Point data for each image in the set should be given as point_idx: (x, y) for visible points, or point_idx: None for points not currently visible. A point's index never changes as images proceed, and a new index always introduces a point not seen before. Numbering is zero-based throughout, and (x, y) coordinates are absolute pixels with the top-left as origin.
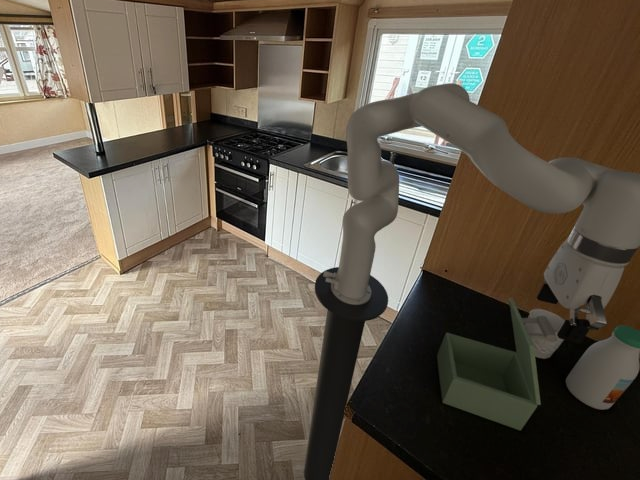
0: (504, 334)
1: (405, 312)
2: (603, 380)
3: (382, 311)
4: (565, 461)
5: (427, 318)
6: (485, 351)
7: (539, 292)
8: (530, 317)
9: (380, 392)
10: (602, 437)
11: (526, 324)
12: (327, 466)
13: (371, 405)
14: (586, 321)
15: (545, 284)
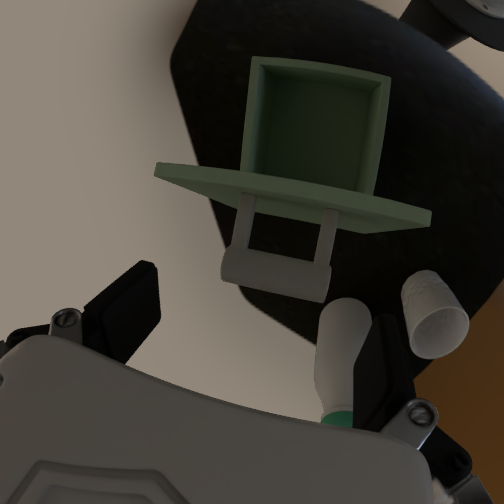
0: (447, 254)
1: (469, 68)
2: (322, 343)
3: (450, 17)
4: (231, 228)
5: (467, 110)
6: (367, 163)
7: (398, 338)
8: (453, 305)
9: None
10: (280, 295)
11: (447, 293)
12: None
13: None
14: (7, 345)
15: (398, 394)
